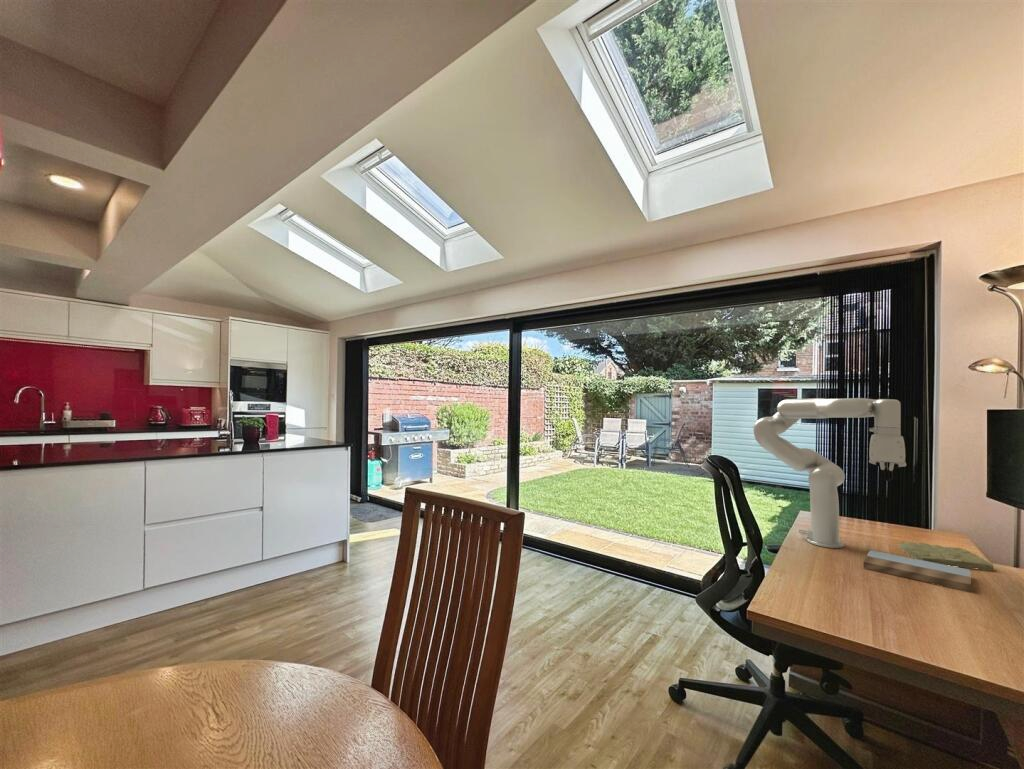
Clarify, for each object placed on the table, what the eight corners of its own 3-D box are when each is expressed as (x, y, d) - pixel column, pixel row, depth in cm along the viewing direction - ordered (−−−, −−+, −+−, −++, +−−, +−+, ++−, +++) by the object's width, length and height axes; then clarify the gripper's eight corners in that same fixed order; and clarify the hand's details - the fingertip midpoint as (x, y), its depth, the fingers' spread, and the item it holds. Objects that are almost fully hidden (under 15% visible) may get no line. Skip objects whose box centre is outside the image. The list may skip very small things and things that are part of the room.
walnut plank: (863, 568, 153) (863, 561, 153) (866, 562, 158) (866, 556, 158) (971, 592, 134) (971, 584, 134) (970, 584, 140) (970, 577, 140)
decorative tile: (994, 572, 151) (994, 562, 151) (922, 565, 158) (921, 555, 158) (960, 554, 169) (960, 545, 169) (896, 548, 175) (896, 539, 175)
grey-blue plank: (867, 561, 159) (866, 555, 159) (870, 555, 164) (869, 550, 164) (970, 583, 140) (970, 577, 140) (970, 575, 146) (969, 569, 146)
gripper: (860, 430, 167) (860, 478, 167) (913, 433, 157) (913, 485, 156) (863, 430, 172) (863, 476, 172) (914, 432, 162) (914, 482, 161)
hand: (887, 480), depth 164 cm, fingers closed
